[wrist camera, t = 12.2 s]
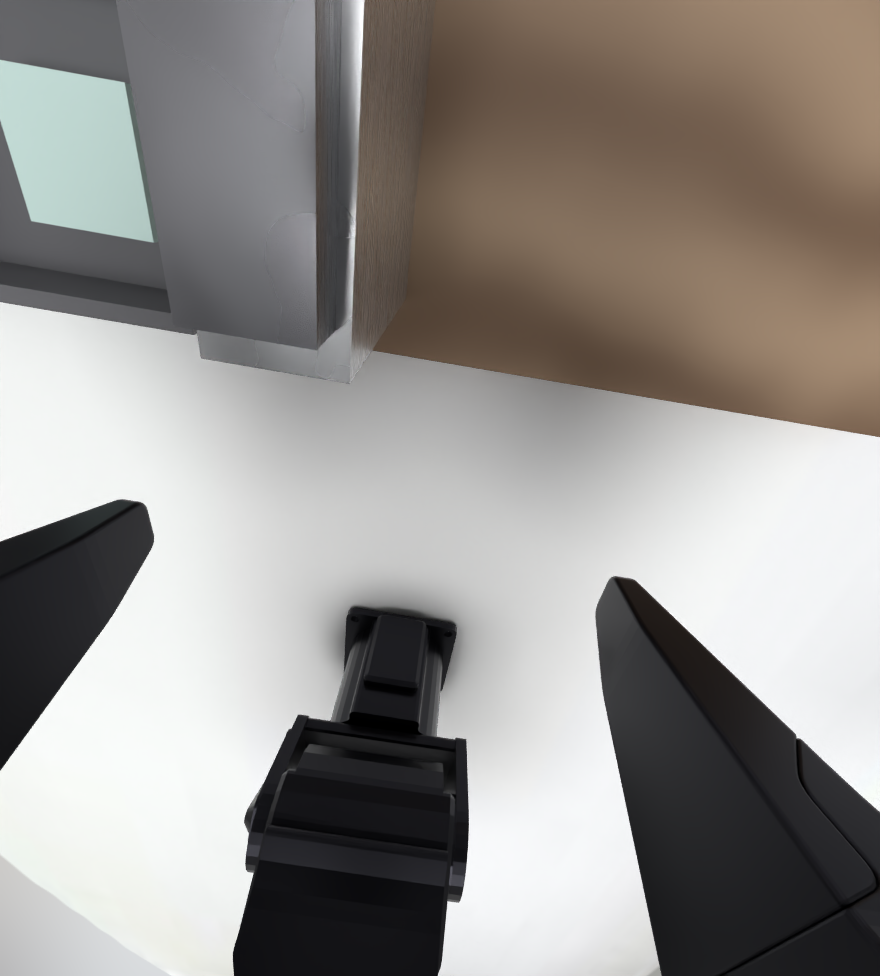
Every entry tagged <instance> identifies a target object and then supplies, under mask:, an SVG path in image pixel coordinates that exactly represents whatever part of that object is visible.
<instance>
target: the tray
mask: <svg viewBox="0 0 880 976" xmlns="http://www.w3.org/2000/svg"><path fill="white" fill-rule="evenodd" d="M0 60H4V61H9V62H15V63H20V64H26V65H31V66H37V67H42V68H48V69H53V70H59V71H64V72H70V73H75V74H81V75H86V76H92V77H97V78H103V79H108V80H114V81H119V82H125V83H128V84H130V78H129V72H128V67H127V61H126V55H125V50H124V44H123V38H122V33H121V27H120V21H119V16H118V10H117V4H116V0H0ZM0 302H3V303H9V304H15V305H21V306H27V307H33V308H39V309H44V310H50V311H56V312H62V313H68V314H74V315H80V316H85V317H91V318H97V319H103V320H109V321H115V322H121V323H127V324H132V325H138V326H144V327H150V328H156V329H162V330H168V331H174V332H179V333H185V334H191V335H195V334H196V333H197V330H195V329H189V328H183V327H177V326H173V321H172V315H171V309H170V304H169V298H168V292H167V287H166V281H165V276H164V270H163V264H162V259H161V253H160V247H159V242H154V243H153V242H147V241H142V240H136V239H130V238H125V237H119V236H113V235H108V234H102V233H96V232H91V231H85V230H79V229H74V228H68V227H62V226H57V225H51V224H45V223H39V222H34V221H31V219H30V215H29V212H28V209H27V206H26V202H25V199H24V196H23V193H22V189H21V186H20V183H19V180H18V176H17V173H16V170H15V167H14V163H13V160H12V157H11V154H10V150H9V147H8V144H7V141H6V137H5V134H4V131H3V128H2V124H1V121H0Z"/></svg>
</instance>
